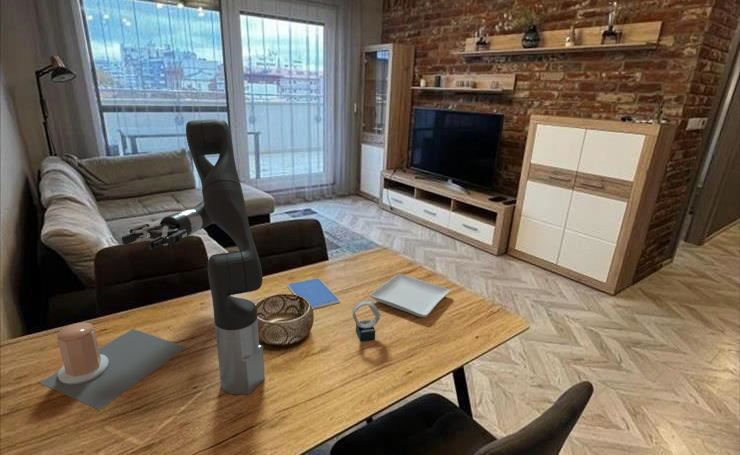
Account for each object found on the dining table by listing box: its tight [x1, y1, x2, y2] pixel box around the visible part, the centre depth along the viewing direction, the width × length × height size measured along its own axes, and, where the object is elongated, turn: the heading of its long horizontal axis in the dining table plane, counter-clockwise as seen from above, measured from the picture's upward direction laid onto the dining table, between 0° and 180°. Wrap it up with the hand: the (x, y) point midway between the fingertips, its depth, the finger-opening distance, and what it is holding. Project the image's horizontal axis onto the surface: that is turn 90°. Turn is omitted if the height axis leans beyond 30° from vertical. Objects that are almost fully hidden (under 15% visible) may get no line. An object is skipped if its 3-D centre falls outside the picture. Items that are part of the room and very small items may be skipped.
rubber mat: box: [39, 328, 188, 411], centre depth 98 cm, size 20×24×1 cm
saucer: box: [57, 354, 109, 385], centre depth 95 cm, size 10×10×1 cm
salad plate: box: [369, 273, 451, 318], centre depth 135 cm, size 21×21×3 cm
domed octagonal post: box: [56, 322, 101, 377], centre depth 94 cm, size 7×7×10 cm
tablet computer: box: [286, 277, 341, 310], centre depth 137 cm, size 19×13×1 cm, turn 29°
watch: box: [352, 299, 381, 343], centre depth 113 cm, size 6×8×11 cm
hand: (136, 243), depth 101 cm, fingers open, 8 cm apart
